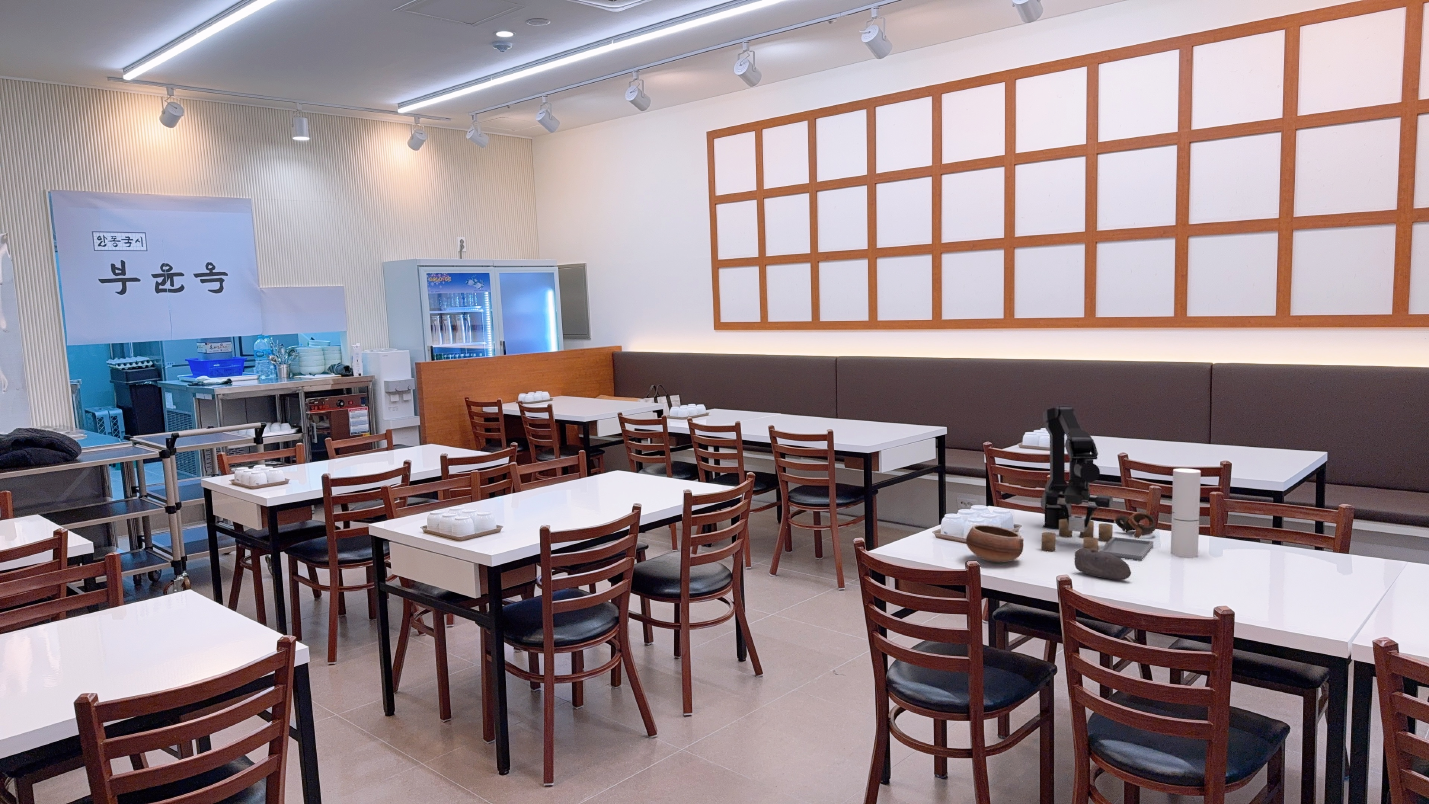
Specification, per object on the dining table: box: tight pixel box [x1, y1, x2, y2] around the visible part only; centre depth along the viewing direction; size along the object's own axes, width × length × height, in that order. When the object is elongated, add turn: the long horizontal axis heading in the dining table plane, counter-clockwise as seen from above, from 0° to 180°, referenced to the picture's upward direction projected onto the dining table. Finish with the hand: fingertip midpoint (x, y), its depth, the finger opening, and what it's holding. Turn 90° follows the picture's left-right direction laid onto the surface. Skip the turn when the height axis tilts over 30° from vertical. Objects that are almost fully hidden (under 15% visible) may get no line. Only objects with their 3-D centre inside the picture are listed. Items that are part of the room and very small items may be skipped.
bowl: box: [965, 524, 1024, 564], centre depth 268 cm, size 16×16×10 cm
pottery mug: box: [1114, 511, 1157, 539], centre depth 296 cm, size 12×10×8 cm
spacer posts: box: [1041, 519, 1114, 553], centre depth 285 cm, size 16×26×5 cm, turn 146°
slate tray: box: [1098, 536, 1155, 562], centre depth 277 cm, size 12×20×2 cm, turn 146°
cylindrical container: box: [1170, 467, 1202, 559], centre depth 270 cm, size 7×7×25 cm
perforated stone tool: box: [1073, 547, 1132, 581], centre depth 250 cm, size 15×5×7 cm, turn 39°
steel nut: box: [1069, 514, 1087, 533], centre depth 284 cm, size 4×4×4 cm
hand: (1078, 526), depth 284 cm, fingers closed on steel nut, 4 cm apart
